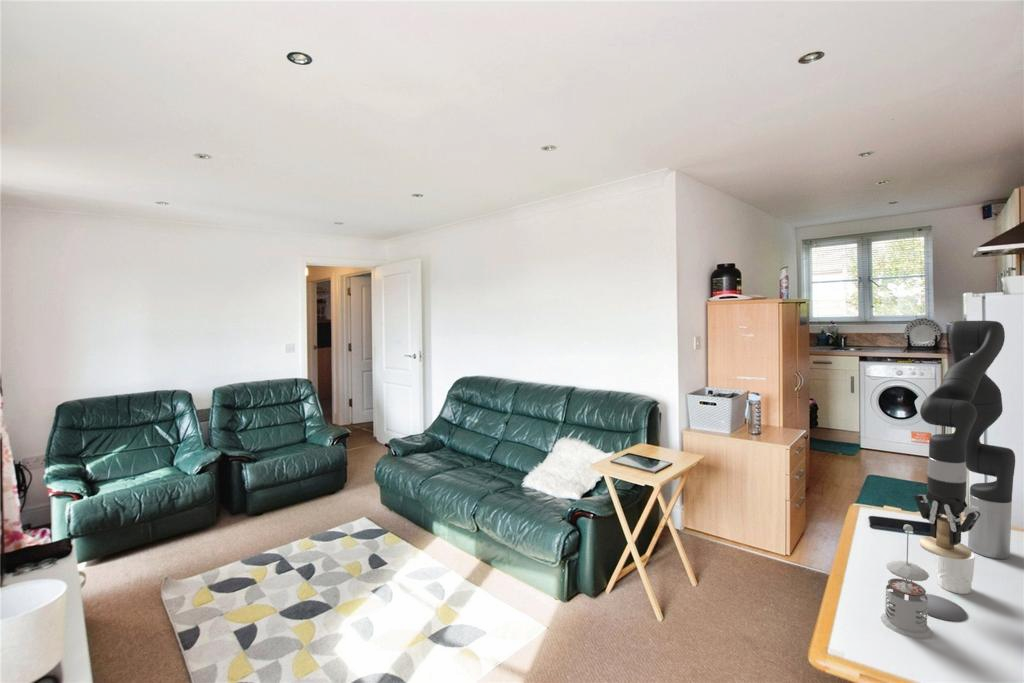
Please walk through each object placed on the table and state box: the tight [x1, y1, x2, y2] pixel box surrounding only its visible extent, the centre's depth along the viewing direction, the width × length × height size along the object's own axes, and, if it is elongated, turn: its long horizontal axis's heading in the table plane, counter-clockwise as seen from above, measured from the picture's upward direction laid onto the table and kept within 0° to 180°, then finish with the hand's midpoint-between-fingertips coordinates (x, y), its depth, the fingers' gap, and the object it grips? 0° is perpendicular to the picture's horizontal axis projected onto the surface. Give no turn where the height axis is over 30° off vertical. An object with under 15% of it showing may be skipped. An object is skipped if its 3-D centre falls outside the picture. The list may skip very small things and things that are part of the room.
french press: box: [879, 523, 933, 639], centre depth 119 cm, size 10×12×25 cm
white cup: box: [935, 552, 976, 595], centre depth 134 cm, size 8×8×10 cm
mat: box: [921, 593, 967, 622], centre depth 126 cm, size 11×11×1 cm
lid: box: [919, 516, 972, 559], centre depth 127 cm, size 10×10×8 cm
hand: (945, 540), depth 127 cm, fingers closed on lid, 3 cm apart
